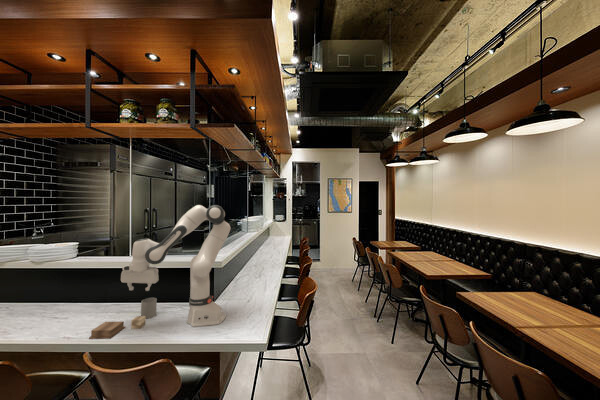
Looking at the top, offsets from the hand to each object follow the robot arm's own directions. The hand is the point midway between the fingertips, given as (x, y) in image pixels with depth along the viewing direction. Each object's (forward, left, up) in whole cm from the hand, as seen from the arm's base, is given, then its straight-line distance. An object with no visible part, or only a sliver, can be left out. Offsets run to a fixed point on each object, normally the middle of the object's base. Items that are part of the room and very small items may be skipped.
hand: (139, 290), depth 142 cm
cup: (+2, -14, -21) cm, 25 cm away
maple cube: (0, 0, -21) cm, 21 cm away
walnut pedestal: (+12, +7, -21) cm, 25 cm away
